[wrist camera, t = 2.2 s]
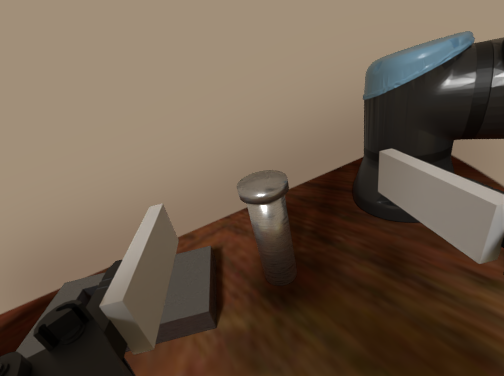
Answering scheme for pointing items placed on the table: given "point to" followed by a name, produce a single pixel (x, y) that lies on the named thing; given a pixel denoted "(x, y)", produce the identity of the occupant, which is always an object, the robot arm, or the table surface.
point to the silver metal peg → (270, 223)
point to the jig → (176, 303)
